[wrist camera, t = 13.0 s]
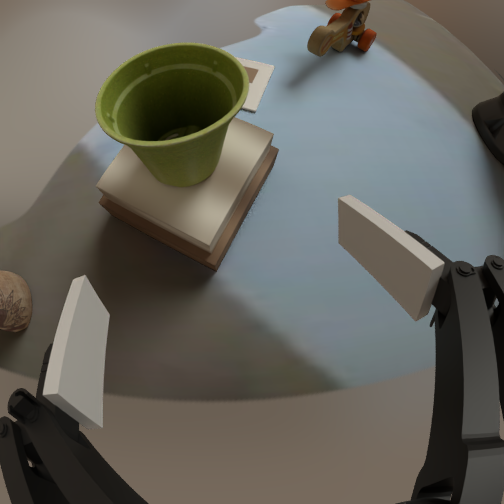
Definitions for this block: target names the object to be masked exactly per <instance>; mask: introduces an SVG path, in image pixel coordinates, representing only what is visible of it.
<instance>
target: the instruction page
mask: <svg viewBox="0 0 504 504" xmlns="http://www.w3.org/2000/svg"><path fill="white" fill-rule="evenodd" d="M235 58H236V59H237V60H238V61H239V62H240V63H241V64H242V65H243V66H244V68H245V70H246V72H247V74H248V78H249V92H248V95H247V98H246V101H245V103H244V105H243V106H242V108H241V109H245V110H249V111H253V112H256V110H257V108H258V105H259V103H260V101H261V98H262V96H263V93H264V91H265V89H266V86H267V84H268V82H269V79H270V77H271V75H272V72H273V70H274V68H275V66H272V65H268V64H264V63H260V62H256V61H251V60H247V59H242V58H237V57H235Z"/></svg>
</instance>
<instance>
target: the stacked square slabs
mask: <svg viewBox="0 0 504 504" xmlns="http://www.w3.org/2000/svg"><path fill="white" fill-rule="evenodd" d="M178 135H179V134H173V135H171V136H169V137H167V138H166V139H165V141H166V140H169V139H170V138H172V137H176V136H178ZM273 135H274V134H273V133H271V132H268V131H266V130H264V129H262V128H259V127H257V126H255V125H252V124H250V123H248V122H245V121H243V120H240V119H238V118H235V117H234V118H233V119H232V121H231V122H230V124H229V126H228V130H227V133H226V136H225V140H224V144H223V148H222V152H221V156H220V159H219V162H218V164H217V167H216V168H215V170H214V171H213V173H212V174H211V175H210V176H209V177H207V178H206V179H205V180H203V181H202V182H200V183H198V184H195V185H192V186H188V187H176V186H171V185H167V184H163V183H161V182H160V181H158V180H157V179H156V178H155V177H154V176H153V175H152V173H151V172H150V171H149V170H148V169H147V167H146V166H145V165H144V164H143V162H142V161H141V160H140V159H139V158H138V156H137V155H136V154H135V153H134V152H133V150H132V149H131V148H130V147H128V146H127V145H124V146H123V148H122V149H121V150H120V152H119V153H118V154H117V156H116V157H115V159H114V160H113V161H112V163H111V164H110V166H109V167H108V169H107V170H106V171H105V173H104V174H103V176H102V177H101V179H100V180H99V182H98V183H97V185H96V187H97V188H98V189H99V190H100V191H101V192H102V193H103V194H104V195H103V196H102V198H101V200H100V201H99V204H100V205H102V206H103V207H104V208H105V209H106V210H107V211H108V212H109V213H110V214H111V215H113V216H115V217H116V218H118V219H120V220H122V221H123V222H125V223H127V224H129V225H131V226H132V227H134V228H136V229H138V230H140V231H141V232H143V233H145V234H147V235H149V236H151V237H152V238H154V239H156V240H158V241H160V242H162V243H163V244H165V245H167V246H169V247H171V248H173V249H175V250H176V251H178V252H180V253H182V254H184V255H186V256H188V257H190V258H192V259H193V260H195V261H197V262H199V263H201V264H203V265H205V266H207V267H209V268H211V269H213V270H215V271H216V272H217V270H218V268H219V266H220V264H221V262H222V260H223V258H224V256H225V254H226V253H227V251H228V249H229V247H230V245H231V243H232V241H233V239H234V238H235V236H236V234H237V232H238V230H239V228H240V226H241V224H242V223H243V221H244V219H245V217H246V215H247V213H248V212H249V210H250V208H251V206H252V204H253V202H254V200H255V199H256V197H257V195H258V193H259V191H260V189H261V188H262V186H263V184H264V182H265V180H266V179H267V177H268V175H269V173H270V171H271V170H272V168H273V166H274V163H275V160H276V157H277V154H278V151H279V149H277V148H275V147H273V146H271V142H272V139H273Z"/></svg>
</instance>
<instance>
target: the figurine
mask: <svg viewBox="0 0 504 504" xmlns="http://www.w3.org/2000/svg"><path fill="white" fill-rule="evenodd" d="M31 315H32V299H31V293H30V290H29V287H28V285H27V283H26V282H25V280H24V279H23V278H22V277H21V276H19V275H17V274H14V273H12V272H8V271H0V329H3V330H5V331H11V332H17V331H21V330H22V329H25V328H26V327H27V326H28V325H29V323H30V319H31Z"/></svg>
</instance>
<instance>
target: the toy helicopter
mask: <svg viewBox="0 0 504 504" xmlns="http://www.w3.org/2000/svg"><path fill="white" fill-rule="evenodd" d="M368 1H370V0H327V1H326V3H325V4H326V6H327V7H328V8H330V9H332V10H341V9H344V8H345V10H344V11H343V13H342V14H340V13H335V14H334V15H333V16H332V17H331V19H330V20H329V22H328V25H327V26H326V27H325V26H319V27H317V28H316V29H315V30H314V31H313V33H312V34H311V36H310V38H309V41H308V45H307V48H308V50H309V51H310V52H311V53H313V54H315V55H317V56H319V57H321V56H323V55H324V54H325V53H326V52H327V51H328V50H329V48H330V47H331V46H332V48H334V49H336V50H337V51H339V52H342V51H343V50H344V48H345V47H346V46H347V45H348V44H350V43H351V42H352V41H353V40H354V41H356V42H358V48H359V49H361V50H363V51H365V52H366V51H367V50H368V49H369V48H370V46H371V45H372V43H373V41H374V40H375V38H376V35H377V34H376V32H374V31H373V30H371V29H367V30H364V29H365V24H364V23H365V20H366V18H367V16H368V13H369V10H370V3H369V2H368Z"/></svg>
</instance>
